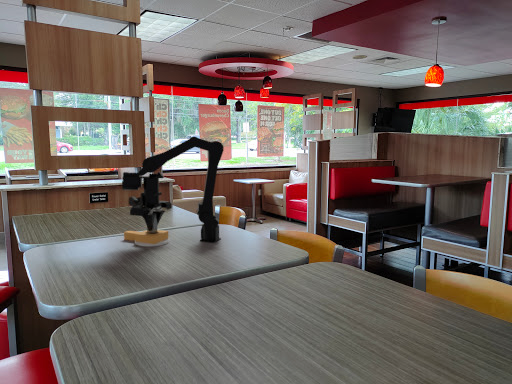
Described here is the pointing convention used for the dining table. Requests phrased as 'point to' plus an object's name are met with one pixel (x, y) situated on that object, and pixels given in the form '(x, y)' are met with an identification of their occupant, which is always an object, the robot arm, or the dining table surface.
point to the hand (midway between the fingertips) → (152, 229)
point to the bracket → (147, 238)
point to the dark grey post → (154, 228)
